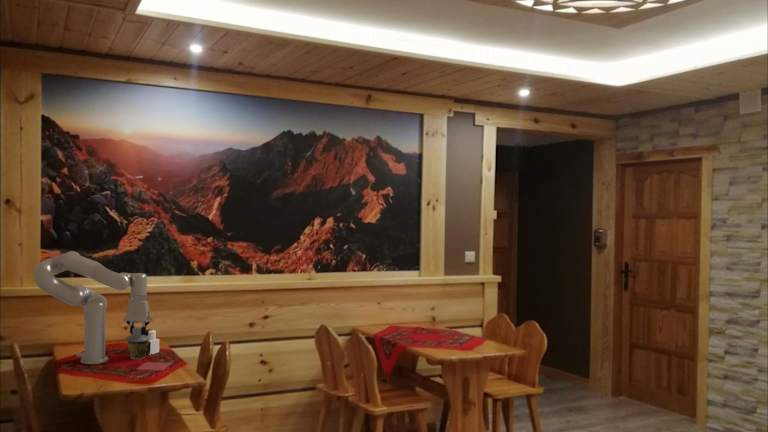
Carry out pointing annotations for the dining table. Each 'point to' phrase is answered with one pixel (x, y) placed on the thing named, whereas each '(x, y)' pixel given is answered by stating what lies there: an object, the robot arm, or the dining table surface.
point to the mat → (154, 366)
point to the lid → (137, 335)
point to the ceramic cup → (137, 349)
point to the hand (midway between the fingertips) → (137, 334)
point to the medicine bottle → (152, 342)
